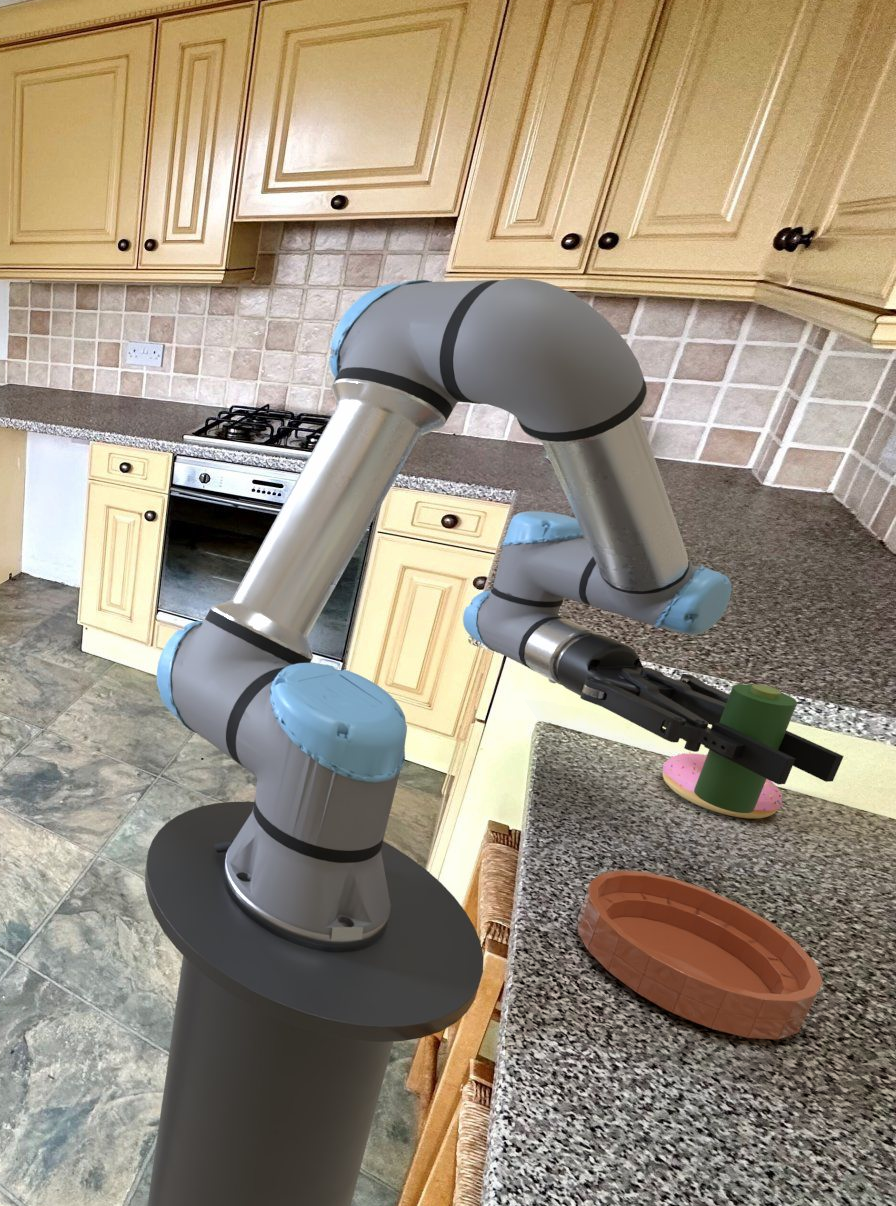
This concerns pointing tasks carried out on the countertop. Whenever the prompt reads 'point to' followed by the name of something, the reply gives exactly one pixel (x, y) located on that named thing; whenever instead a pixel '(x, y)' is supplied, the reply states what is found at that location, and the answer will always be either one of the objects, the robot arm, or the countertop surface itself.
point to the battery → (758, 718)
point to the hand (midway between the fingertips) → (810, 770)
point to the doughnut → (683, 780)
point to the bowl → (698, 954)
